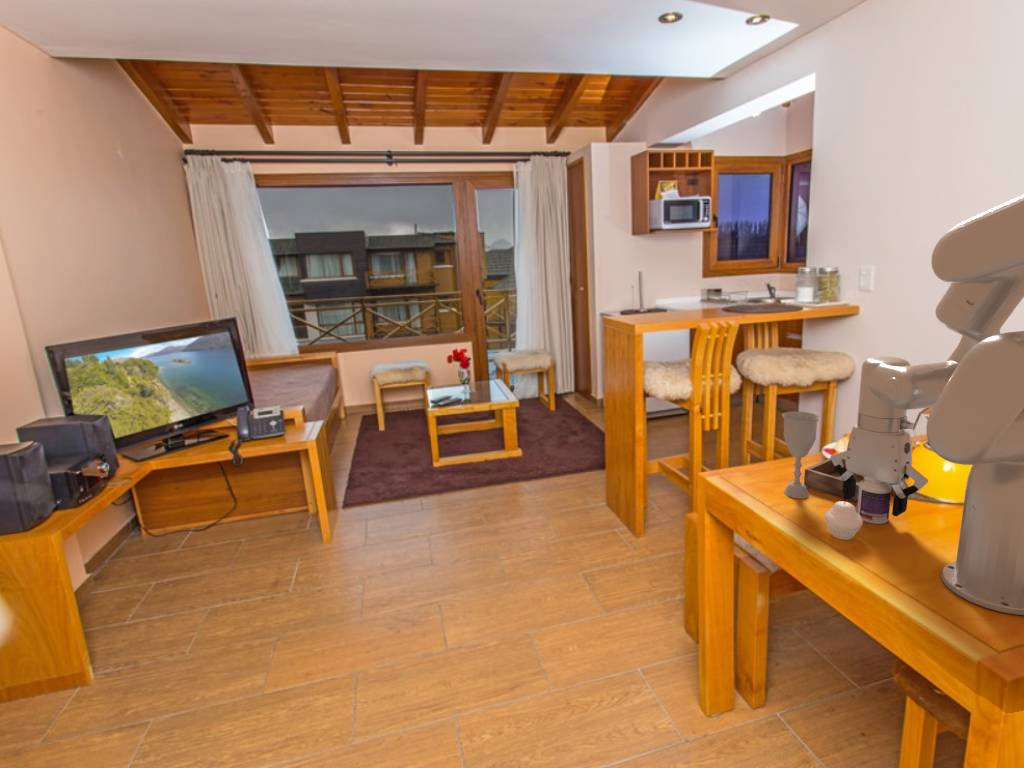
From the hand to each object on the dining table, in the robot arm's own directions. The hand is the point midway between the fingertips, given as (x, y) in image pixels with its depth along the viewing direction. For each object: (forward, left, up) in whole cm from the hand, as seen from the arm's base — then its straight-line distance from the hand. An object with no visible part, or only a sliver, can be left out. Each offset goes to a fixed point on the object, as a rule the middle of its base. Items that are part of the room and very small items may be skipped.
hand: (872, 505), depth 105 cm
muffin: (0, +11, -3) cm, 11 cm away
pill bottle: (0, 0, -3) cm, 3 cm away
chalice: (+15, +1, -3) cm, 15 cm away
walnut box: (+10, -10, -3) cm, 15 cm away
